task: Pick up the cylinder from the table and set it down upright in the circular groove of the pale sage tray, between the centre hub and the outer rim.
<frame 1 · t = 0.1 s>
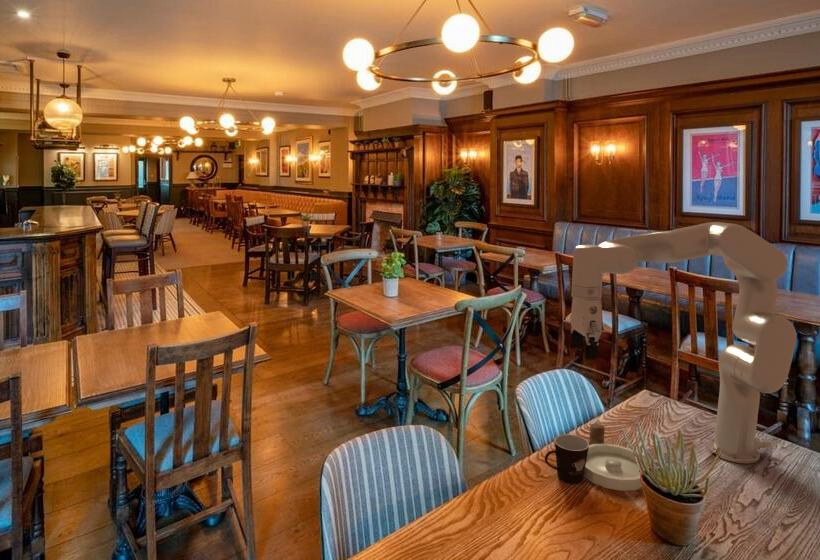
hand: (583, 353, 137), 31 cm above the table, tool pointing down, fingers open, 9 cm apart
coffee mug: (564, 477, 134), on the table
tray: (612, 470, 136), on the table
cylinder: (596, 445, 150), on the table
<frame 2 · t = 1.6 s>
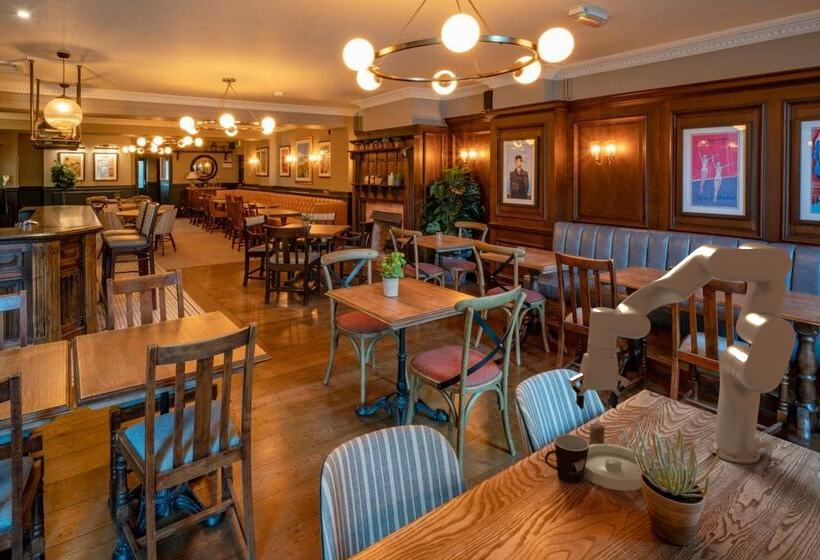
hand: (596, 406, 148), 12 cm above the table, tool pointing down, fingers open, 9 cm apart
nothing on the table moved.
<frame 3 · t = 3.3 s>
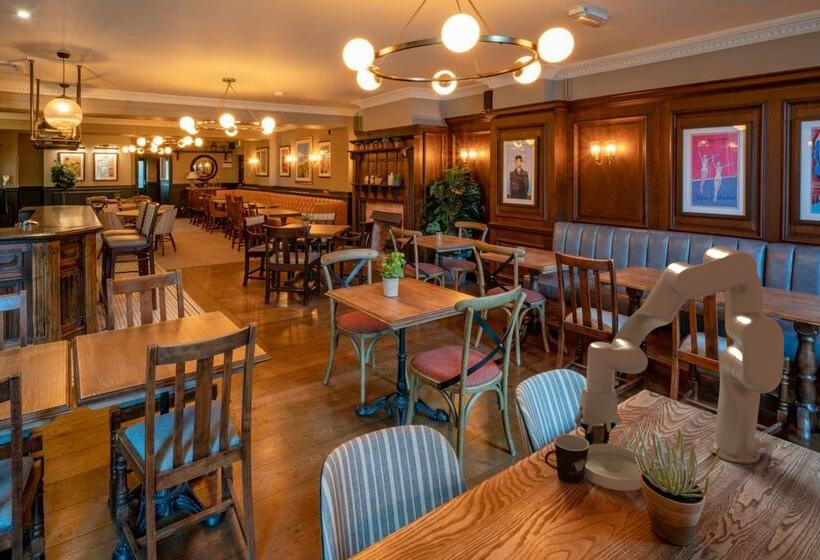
hand: (596, 442, 150), 1 cm above the table, tool pointing down, fingers closed on cylinder, 4 cm apart
cylinder: (596, 445, 150), on the table, touching gripper
everything else where it was.
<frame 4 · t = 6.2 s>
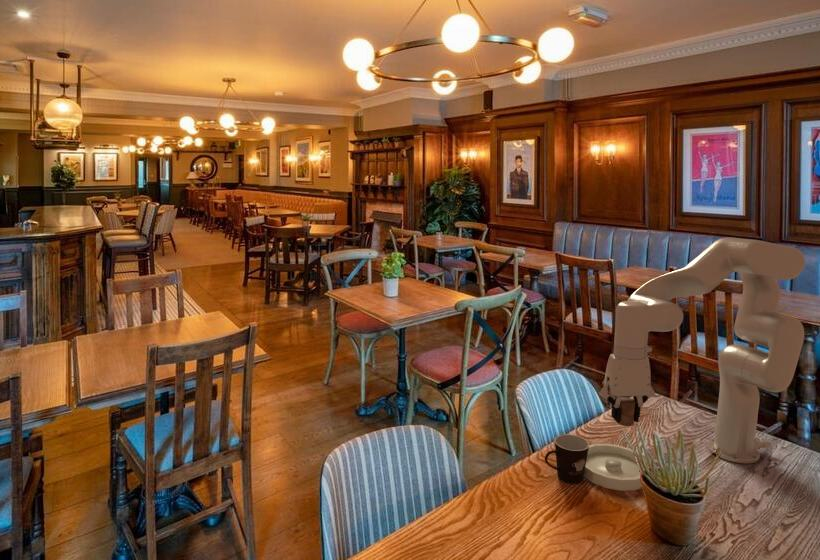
hand: (625, 419, 129), 17 cm above the table, tool pointing down, fingers closed on cylinder, 4 cm apart
cylinder: (625, 422, 129), point 16 cm above the table, touching gripper
everything else where it was.
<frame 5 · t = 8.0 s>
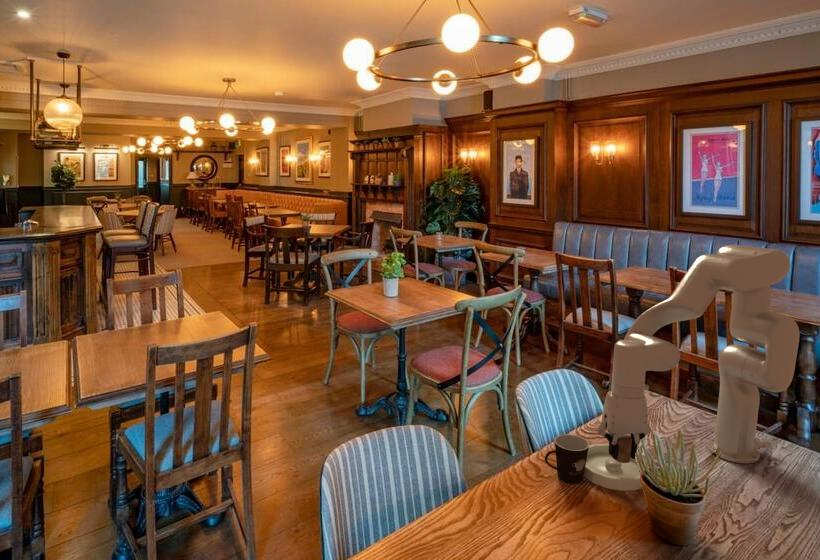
hand: (622, 455, 130), 7 cm above the table, tool pointing down, fingers closed on cylinder, 4 cm apart
cylinder: (621, 458, 130), point 6 cm above the table, touching gripper
everything else where it was.
when the fingers open (3 cm above the table, at t = 9.2 s): cylinder drops 1 cm, resting on tray.
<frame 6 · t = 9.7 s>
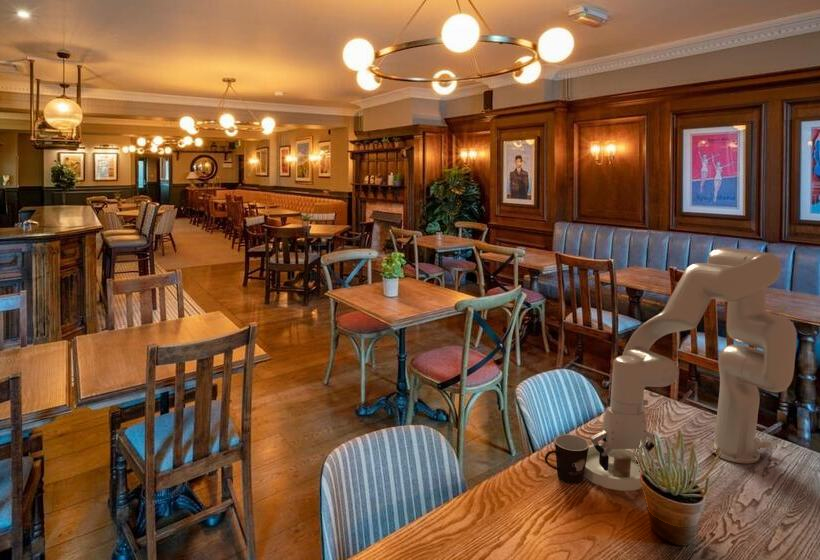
hand: (622, 467, 131), 4 cm above the table, tool pointing down, fingers open, 9 cm apart
cylinder: (621, 478, 131), point 1 cm above the table, touching tray
everything else where it was.
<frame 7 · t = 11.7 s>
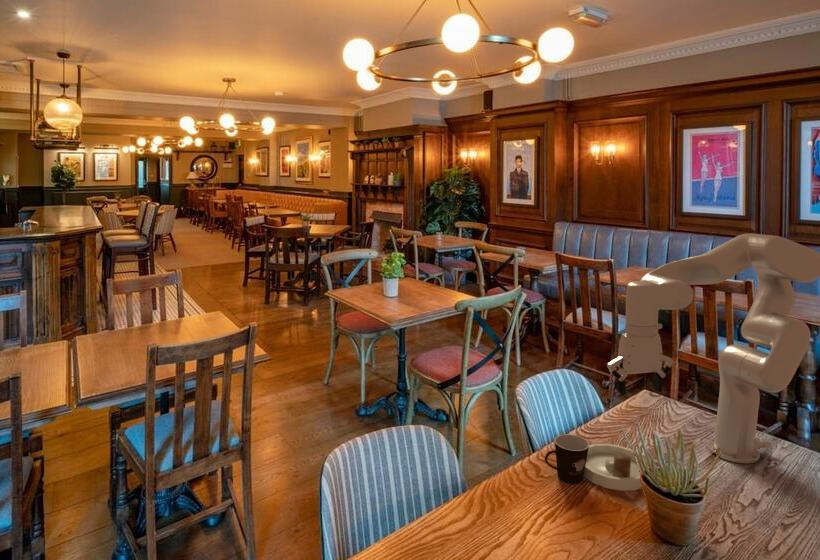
hand: (639, 391, 133), 22 cm above the table, tool pointing down, fingers open, 9 cm apart
nothing on the table moved.
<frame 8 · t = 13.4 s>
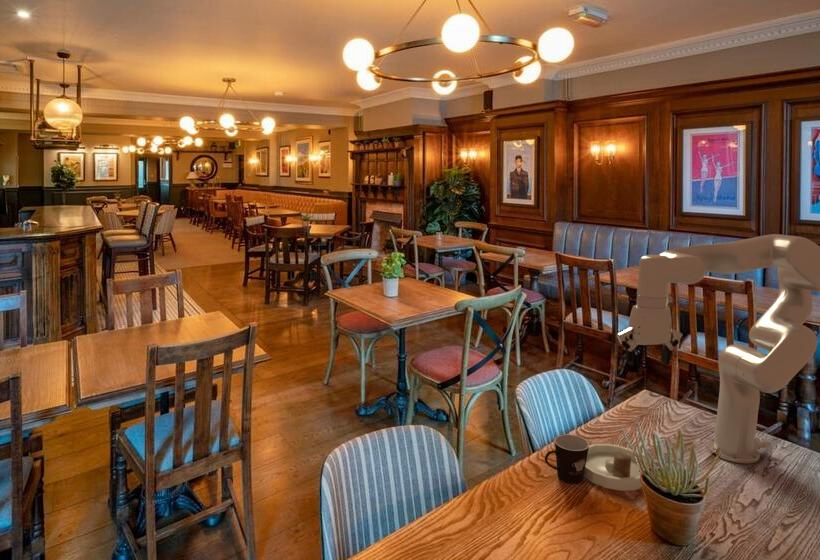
hand: (647, 363, 137), 28 cm above the table, tool pointing down, fingers open, 9 cm apart
nothing on the table moved.
at the end: cylinder 0.0 cm from the target spot on the tray, point 0.8 cm above the tray's base; cylinder tilted 0°; the gripper is holding nothing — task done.
